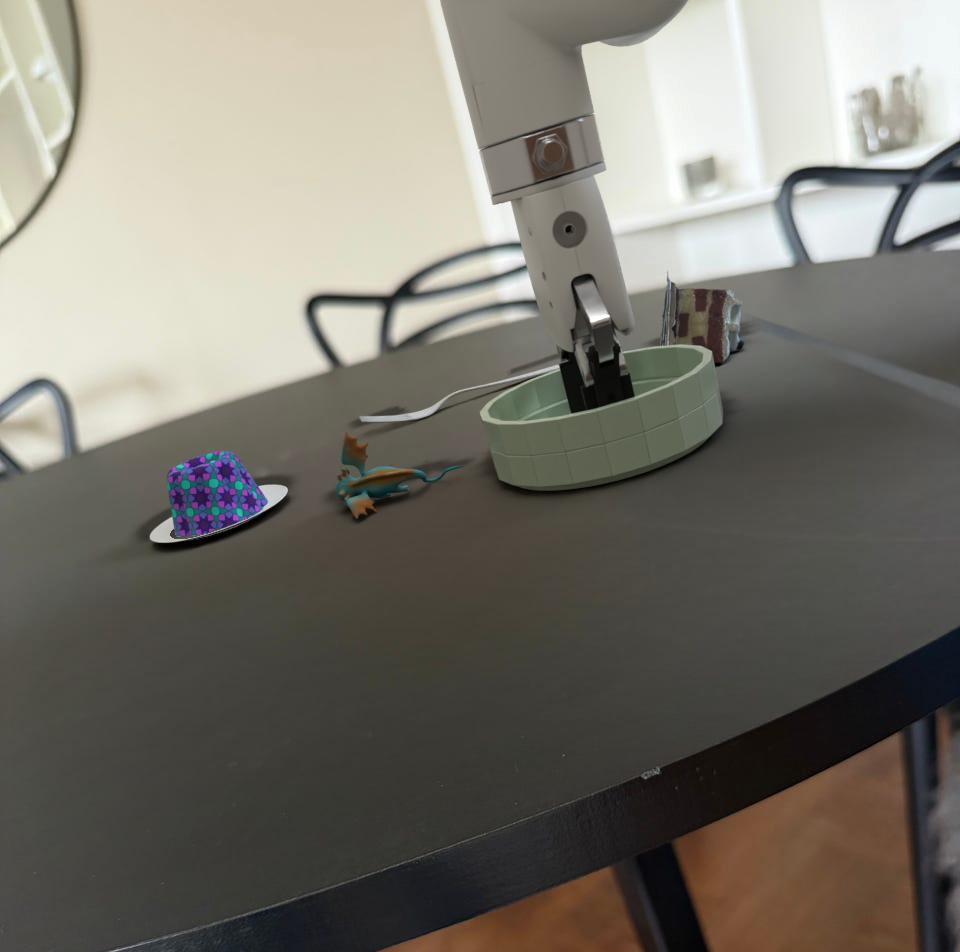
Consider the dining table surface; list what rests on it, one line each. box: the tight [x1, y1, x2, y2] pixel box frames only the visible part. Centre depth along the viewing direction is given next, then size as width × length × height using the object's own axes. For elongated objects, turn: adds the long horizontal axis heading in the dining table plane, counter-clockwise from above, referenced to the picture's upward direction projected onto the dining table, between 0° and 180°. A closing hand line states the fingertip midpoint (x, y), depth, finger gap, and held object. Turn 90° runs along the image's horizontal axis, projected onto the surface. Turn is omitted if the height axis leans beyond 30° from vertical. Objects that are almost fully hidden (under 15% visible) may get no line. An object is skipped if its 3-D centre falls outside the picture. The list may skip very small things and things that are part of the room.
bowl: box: [479, 344, 724, 492], centre depth 72 cm, size 16×16×5 cm
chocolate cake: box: [659, 270, 745, 364], centre depth 91 cm, size 10×7×12 cm
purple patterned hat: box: [149, 450, 289, 544], centre depth 85 cm, size 12×12×5 cm
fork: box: [358, 363, 560, 424], centre depth 102 cm, size 3×24×2 cm, turn 106°
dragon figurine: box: [335, 431, 464, 519], centre depth 77 cm, size 6×7×8 cm
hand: (604, 423), depth 72 cm, fingers open, 9 cm apart
